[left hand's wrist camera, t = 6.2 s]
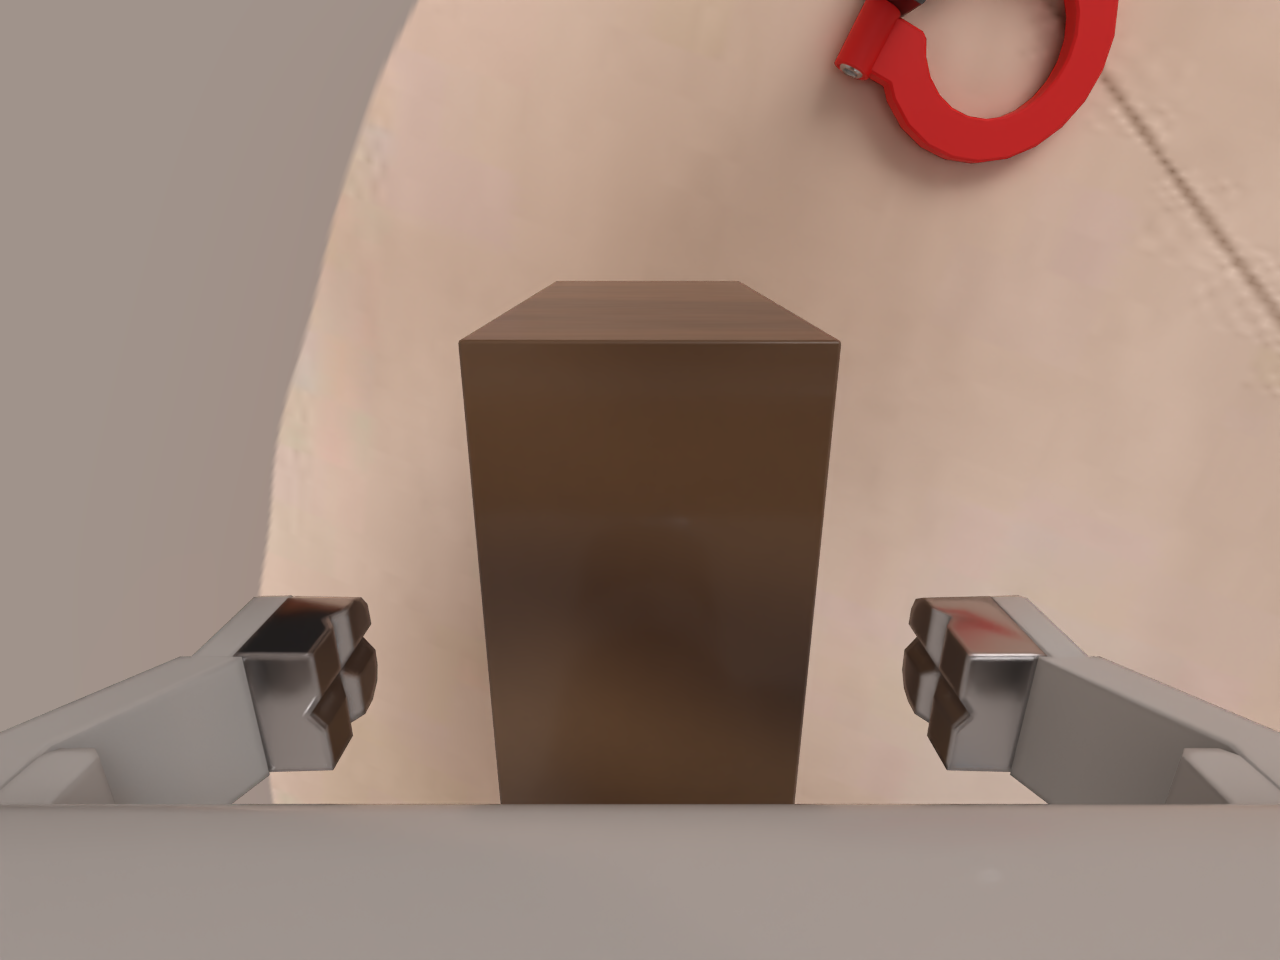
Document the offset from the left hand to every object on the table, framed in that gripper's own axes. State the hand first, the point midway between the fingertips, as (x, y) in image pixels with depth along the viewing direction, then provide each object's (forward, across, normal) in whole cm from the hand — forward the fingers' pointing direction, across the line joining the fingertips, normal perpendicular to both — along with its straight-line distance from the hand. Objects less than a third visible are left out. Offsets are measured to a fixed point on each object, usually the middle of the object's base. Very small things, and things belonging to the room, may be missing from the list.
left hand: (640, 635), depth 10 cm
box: (+14, 0, -7) cm, 16 cm away
